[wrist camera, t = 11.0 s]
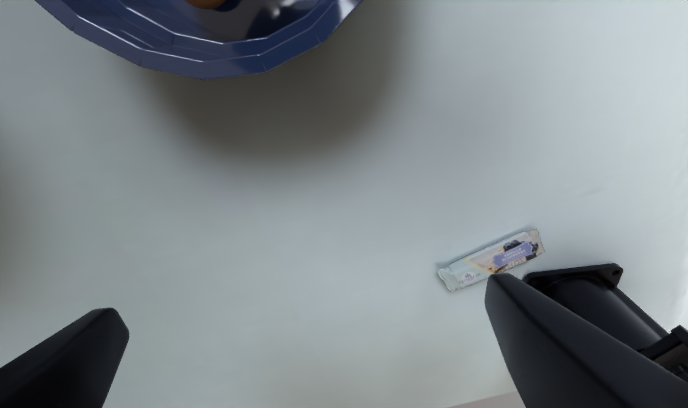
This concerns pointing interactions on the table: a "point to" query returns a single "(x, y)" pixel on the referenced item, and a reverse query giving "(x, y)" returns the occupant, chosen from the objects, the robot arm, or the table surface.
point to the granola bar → (492, 260)
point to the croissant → (206, 3)
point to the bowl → (204, 32)
